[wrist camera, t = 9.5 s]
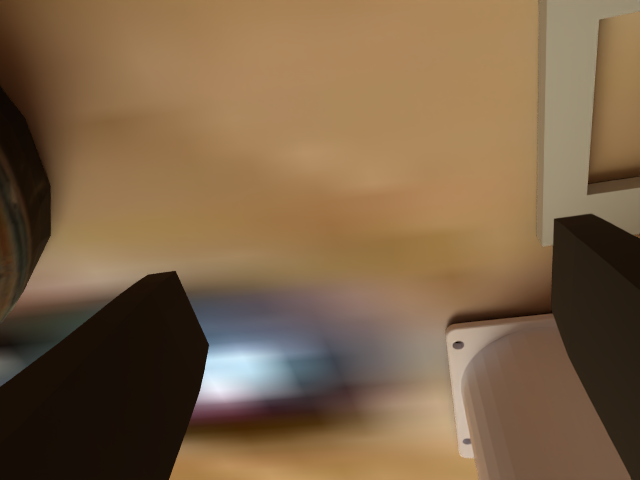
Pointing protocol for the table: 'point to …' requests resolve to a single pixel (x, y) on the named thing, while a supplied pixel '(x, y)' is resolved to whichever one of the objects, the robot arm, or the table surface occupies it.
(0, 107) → the black tall lumpy piece
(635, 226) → the keyhole board
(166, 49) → the table surface
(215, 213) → the table surface
